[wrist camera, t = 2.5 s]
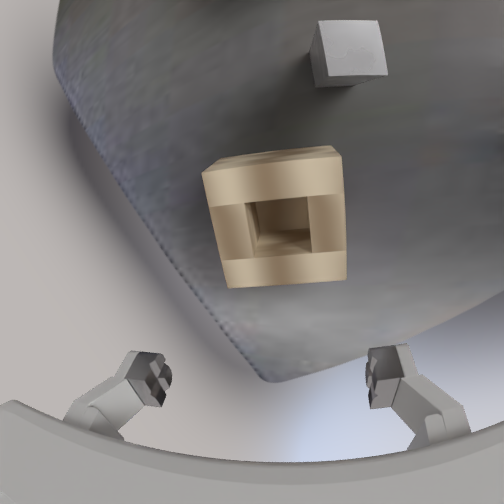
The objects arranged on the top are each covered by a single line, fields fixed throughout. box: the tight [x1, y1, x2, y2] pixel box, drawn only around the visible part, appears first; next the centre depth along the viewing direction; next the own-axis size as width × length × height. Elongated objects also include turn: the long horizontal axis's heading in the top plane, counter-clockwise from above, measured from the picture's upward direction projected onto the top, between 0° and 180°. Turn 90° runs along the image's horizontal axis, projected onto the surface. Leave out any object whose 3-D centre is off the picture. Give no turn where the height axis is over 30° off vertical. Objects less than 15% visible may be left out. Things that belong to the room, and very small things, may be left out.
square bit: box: [309, 20, 388, 88], centre depth 17 cm, size 3×3×10 cm
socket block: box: [202, 145, 347, 288], centre depth 25 cm, size 10×10×6 cm
